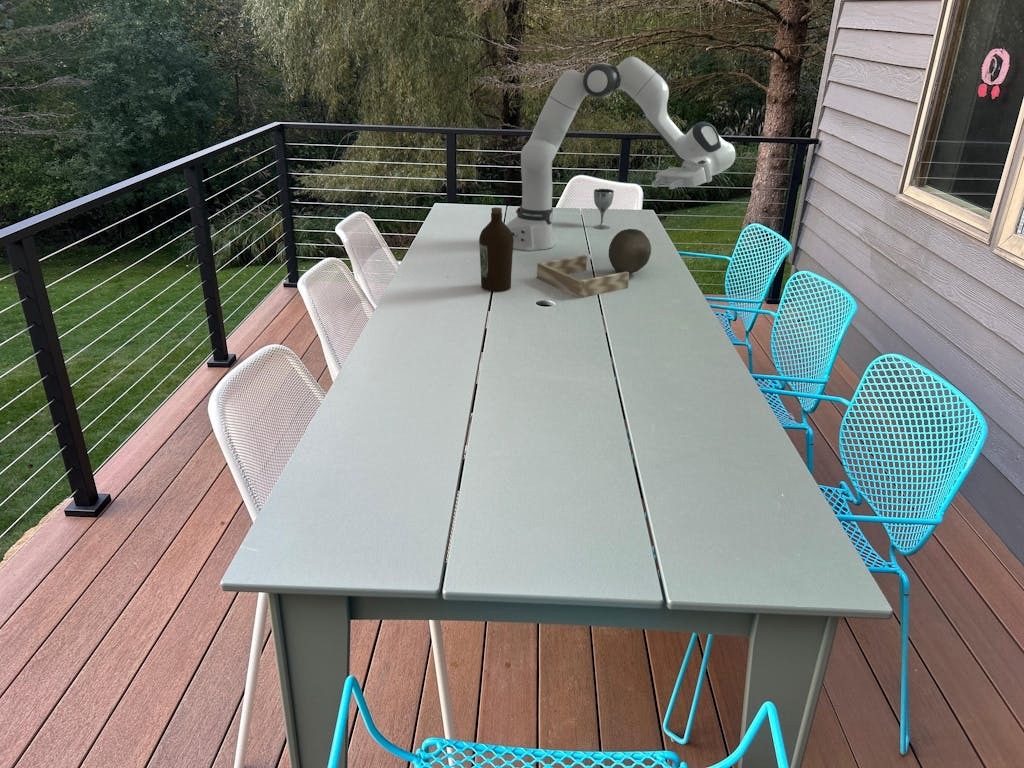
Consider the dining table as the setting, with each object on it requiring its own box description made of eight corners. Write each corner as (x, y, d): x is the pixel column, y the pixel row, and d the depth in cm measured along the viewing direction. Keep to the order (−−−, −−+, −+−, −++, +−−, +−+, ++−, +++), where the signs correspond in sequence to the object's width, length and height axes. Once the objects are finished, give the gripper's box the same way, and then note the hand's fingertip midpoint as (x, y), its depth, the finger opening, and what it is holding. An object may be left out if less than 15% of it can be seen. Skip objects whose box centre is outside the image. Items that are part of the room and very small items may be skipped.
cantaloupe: (603, 277, 254) (606, 233, 247) (611, 266, 266) (614, 223, 259) (645, 282, 250) (650, 237, 244) (651, 270, 262) (656, 226, 256)
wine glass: (611, 229, 312) (614, 192, 306) (592, 229, 312) (594, 192, 306) (610, 225, 320) (612, 188, 313) (591, 224, 320) (593, 188, 313)
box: (583, 269, 262) (584, 255, 259) (627, 287, 244) (629, 272, 242) (536, 278, 252) (537, 263, 250) (579, 297, 234) (580, 282, 232)
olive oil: (507, 281, 248) (508, 203, 238) (516, 291, 239) (518, 211, 229) (475, 283, 245) (475, 205, 235) (484, 294, 236) (484, 213, 226)
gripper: (673, 160, 265) (641, 175, 262) (711, 162, 248) (677, 178, 244) (677, 178, 268) (645, 193, 264) (715, 181, 250) (681, 197, 247)
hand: (661, 186), depth 254 cm, fingers open, 8 cm apart
